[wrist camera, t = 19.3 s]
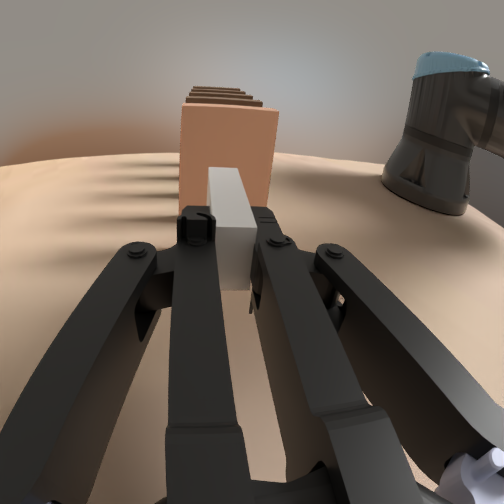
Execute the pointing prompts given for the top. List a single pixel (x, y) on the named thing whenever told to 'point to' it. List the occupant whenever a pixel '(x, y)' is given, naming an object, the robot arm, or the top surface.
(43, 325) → the top surface
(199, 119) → the domino
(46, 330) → the top surface
